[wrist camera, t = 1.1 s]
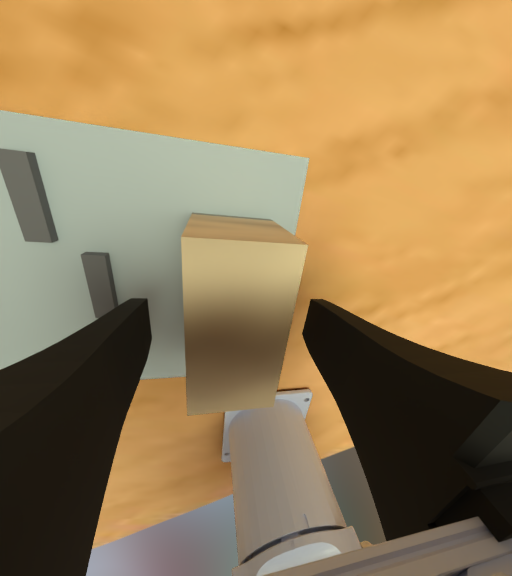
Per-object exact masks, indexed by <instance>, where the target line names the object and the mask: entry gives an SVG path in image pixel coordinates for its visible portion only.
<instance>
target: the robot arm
mask: <svg viewBox="0 0 512 576" xmlns="http://www.w3.org/2000/svg"><path fill="white" fill-rule="evenodd" d="M302 335H303V338H304V340H305V343H306V346H307V348H308V351H309V353H310V355H311V357H312V359H313V361H314V362H315V364H316V366H317V368H318V370H319V372H320V373H321V375H322V377H323V379H324V381H325V382H326V384H327V386H328V388H329V390H330V391H331V393H332V395H333V397H334V399H335V401H336V403H337V405H338V407H339V410H340V412H341V414H342V417H343V419H344V421H345V424H346V426H347V429H348V431H349V434H350V436H351V439H352V441H353V444H354V446H355V449H356V451H357V454H358V456H359V459H360V462H361V465H362V468H363V470H364V473H365V476H366V478H367V482H368V484H369V487H370V490H371V493H372V496H373V499H374V503H375V506H376V509H377V512H378V515H379V518H380V521H381V524H382V528H383V531H384V534H385V537H386V542H383V543H379V544H376V545H372V544H371V543H369V542H368V541H363V542H361V543H360V542H359V540H358V538H357V535H356V533H355V530H354V528H353V527H352V526H350V527H347V526H346V523H345V521H344V518H343V516H342V514H341V511H340V508H339V506H338V503H337V501H336V498H335V495H334V493H333V491H332V488H331V485H330V483H329V480H328V478H327V475H326V473H325V470H324V467H323V465H322V463H321V460H320V457H319V455H318V452H317V450H316V447H315V445H314V442H313V440H312V437H311V434H310V432H309V429H308V427H307V424H306V422H305V418H306V414H307V411H308V408H309V405H310V402H311V399H312V396H313V394H312V392H311V390H310V389H304V390H292V391H281V392H276V397H275V402H274V406H273V407H267V408H257V409H248V410H238V411H228V412H225V417H224V430H223V443H222V456H221V457H222V461H223V462H231V471H232V485H233V498H234V511H235V524H236V537H237V550H238V563H239V566H237V567H235V568H233V569H232V576H512V372H508V371H503V370H499V369H495V368H492V367H488V366H485V365H481V364H477V363H474V362H470V361H467V360H463V359H460V358H457V357H454V356H451V355H448V354H445V353H442V352H439V351H436V350H433V349H430V348H427V347H424V346H422V345H419V344H417V343H414V342H412V341H409V340H407V339H404V338H402V337H399V336H397V335H395V334H392V333H390V332H388V331H386V330H384V329H382V328H380V327H378V326H375V325H373V324H371V323H369V322H367V321H365V320H364V319H362V318H360V317H358V316H356V315H354V314H352V313H350V312H348V311H346V310H344V309H343V308H341V307H339V306H337V305H335V304H333V303H331V302H328V301H326V300H323V299H311V301H310V305H309V309H308V313H307V317H306V321H305V325H304V329H303V333H302ZM151 341H152V333H151V325H150V316H149V307H148V299H147V298H131V299H129V300H127V301H125V302H123V303H122V304H120V305H119V306H117V307H116V308H114V309H112V310H111V311H109V312H108V313H106V314H105V315H103V316H101V317H100V318H98V319H97V320H95V321H94V322H92V323H90V324H89V325H87V326H85V327H83V328H82V329H80V330H78V331H77V332H75V333H73V334H71V335H70V336H68V337H66V338H64V339H63V340H61V341H59V342H57V343H55V344H53V345H51V346H50V347H48V348H46V349H44V350H42V351H40V352H38V353H35V354H33V355H31V356H29V357H27V358H25V359H23V360H21V361H19V362H17V363H14V364H12V365H10V366H8V367H5V368H3V369H1V370H0V576H86V572H87V567H88V563H89V559H90V554H91V550H92V545H93V541H94V536H95V532H96V528H97V524H98V519H99V515H100V511H101V507H102V503H103V498H104V494H105V490H106V486H107V483H108V479H109V475H110V471H111V467H112V463H113V459H114V455H115V452H116V448H117V445H118V441H119V437H120V434H121V430H122V427H123V424H124V421H125V418H126V415H127V412H128V409H129V407H130V404H131V401H132V399H133V396H134V394H135V391H136V388H137V386H138V383H139V381H140V378H141V375H142V373H143V370H144V367H145V365H146V362H147V359H148V355H149V351H150V346H151Z"/></svg>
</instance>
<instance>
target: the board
mask: <svg viewBox="0 0 512 576" xmlns="http://www.w3.org/2000/svg"><path fill="white" fill-rule="evenodd" d="M0 148H1V149H9V150H17V151H25V152H33V153H35V155H36V159H37V163H38V166H39V170H40V174H41V177H42V181H43V185H44V188H45V192H46V196H47V199H48V203H49V207H50V210H51V214H52V217H53V221H54V225H55V228H56V232H57V236H58V239H59V240H58V241H55V242H53V243H44V242H25V240H24V237H23V234H22V231H21V228H20V225H19V223H18V220H17V217H16V214H15V211H14V208H13V205H12V202H11V199H10V196H9V193H8V190H7V187H6V184H5V181H4V179H3V176H2V173H1V170H0V370H1V369H3V368H5V367H8V366H10V365H12V364H14V363H17V362H19V361H21V360H23V359H25V358H27V357H29V356H31V355H33V354H35V353H38V352H40V351H42V350H44V349H46V348H48V347H50V346H51V345H53V344H55V343H57V342H59V341H61V340H63V339H64V338H66V337H68V336H70V335H71V334H73V333H75V332H77V331H78V330H80V329H82V328H83V327H85V326H87V325H89V324H90V323H92V322H94V321H95V320H97V319H98V318H95V314H94V310H93V306H92V301H91V297H90V293H89V289H88V285H87V280H86V276H85V272H84V268H83V264H82V259H81V254H83V253H84V252H104V253H109V256H110V262H111V268H112V273H113V279H114V284H115V290H116V295H117V301H118V306H119V305H120V304H122V303H123V302H125V301H127V300H129V299H131V298H147V299H148V307H149V316H150V325H151V333H152V341H151V346H150V351H149V355H148V359H147V362H146V365H145V367H144V370H143V373H142V375H141V378H140V380H141V379H156V378H172V377H186V366H185V338H184V309H183V281H182V253H181V236H182V234H183V231H184V229H185V227H186V225H187V223H188V221H189V219H190V216H191V214H192V213H204V214H215V215H227V216H238V217H250V218H261V219H271V220H273V221H274V222H276V223H277V224H278V225H280V226H281V227H283V228H284V229H286V230H287V231H289V232H290V233H292V234H293V235H294V236H295V233H296V227H297V222H298V217H299V211H300V206H301V200H302V195H303V190H304V184H305V179H306V174H307V168H308V163H309V158H305V157H298V156H292V155H285V154H279V153H273V152H266V151H260V150H253V149H247V148H240V147H234V146H227V145H221V144H215V143H208V142H202V141H195V140H189V139H182V138H176V137H169V136H163V135H157V134H150V133H144V132H137V131H131V130H124V129H118V128H111V127H105V126H99V125H92V124H86V123H79V122H73V121H66V120H60V119H54V118H47V117H41V116H34V115H28V114H21V113H15V112H8V111H2V110H0Z"/></svg>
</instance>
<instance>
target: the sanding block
mask: <svg viewBox="0 0 512 576" xmlns="http://www.w3.org/2000/svg"><path fill="white" fill-rule="evenodd" d="M307 248H308V244H306V243H305V242H303V241H302V240H300V239H299V238H297V237H296V236H294V235H293V234H292V233H290V232H289V231H287V230H286V229H284V228H283V227H281V226H280V225H278V224H277V223H276V222H274V221H273V220H271V219H261V218H250V217H238V216H227V215H215V214H204V213H192V214H191V216H190V219H189V221H188V223H187V225H186V227H185V229H184V231H183V234H182V236H181V253H182V281H183V309H184V338H185V366H186V394H187V416H190V415H199V414H209V413H219V412H228V411H238V410H248V409H257V408H267V407H273V406H274V402H275V397H276V392H277V388H278V383H279V379H280V374H281V369H282V365H283V360H284V355H285V351H286V346H287V341H288V337H289V332H290V327H291V323H292V318H293V313H294V309H295V304H296V300H297V295H298V290H299V286H300V281H301V276H302V272H303V267H304V262H305V258H306V253H307Z"/></svg>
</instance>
